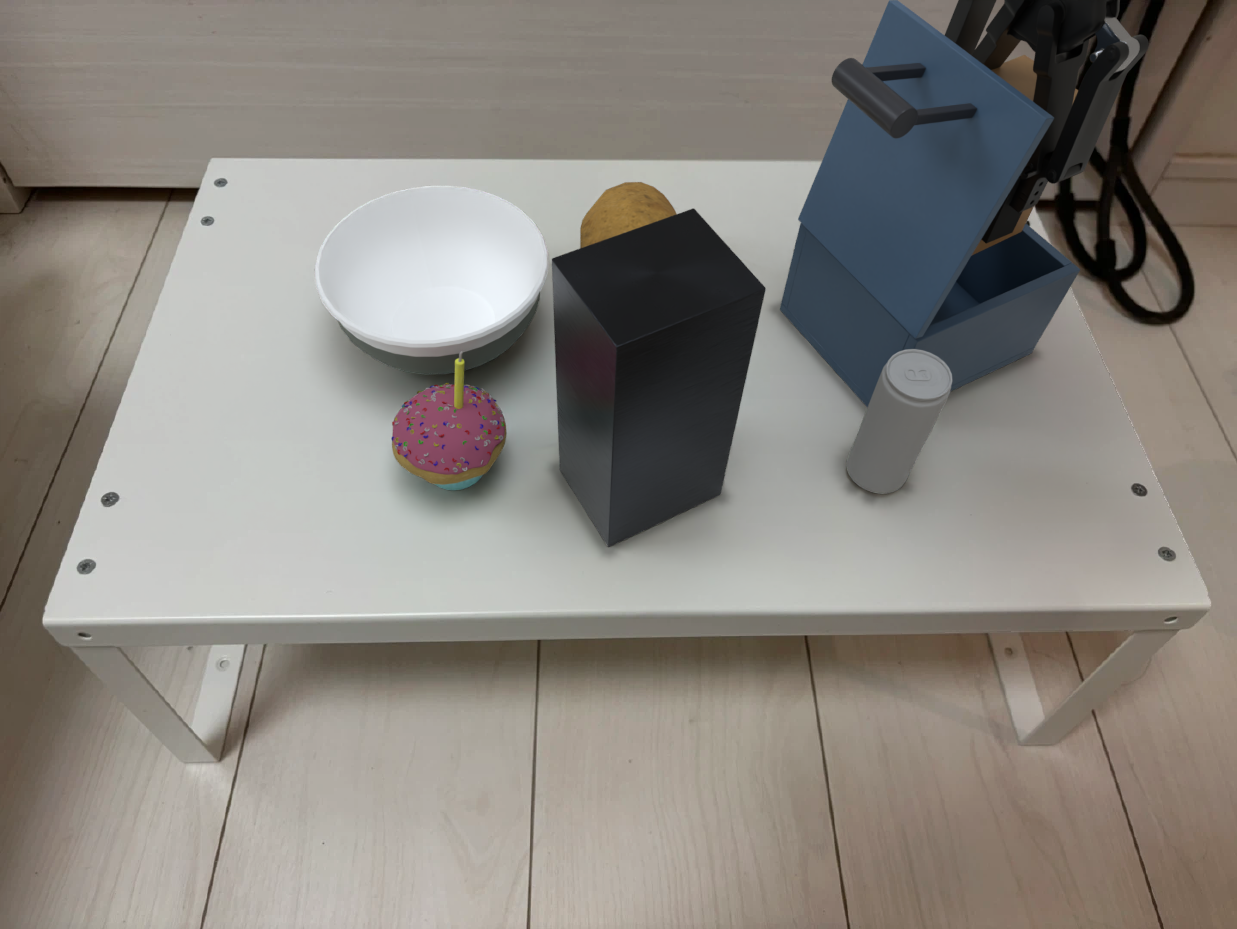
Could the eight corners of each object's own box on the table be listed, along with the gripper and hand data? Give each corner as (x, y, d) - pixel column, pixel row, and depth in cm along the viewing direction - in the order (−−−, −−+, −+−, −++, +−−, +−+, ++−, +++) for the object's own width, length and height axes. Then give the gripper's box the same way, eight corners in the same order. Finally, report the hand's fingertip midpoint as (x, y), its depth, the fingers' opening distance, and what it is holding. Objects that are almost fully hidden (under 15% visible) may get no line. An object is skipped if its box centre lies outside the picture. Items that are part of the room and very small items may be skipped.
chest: (922, 250, 89) (956, 164, 81) (1031, 353, 82) (1081, 269, 74) (779, 309, 84) (800, 223, 76) (882, 424, 77) (917, 342, 68)
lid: (897, -1, 63) (804, 3, 59) (1055, 117, 55) (960, 130, 51) (804, 218, 76) (723, 232, 72) (922, 336, 68) (839, 360, 64)
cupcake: (467, 407, 76) (450, 302, 66) (533, 471, 73) (525, 370, 63) (379, 463, 73) (347, 361, 63) (444, 533, 69) (421, 437, 59)
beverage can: (910, 498, 72) (961, 401, 63) (848, 497, 72) (890, 399, 62) (900, 448, 75) (947, 348, 65) (840, 447, 75) (879, 346, 65)
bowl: (355, 436, 74) (333, 368, 67) (320, 279, 84) (297, 206, 77) (578, 383, 78) (578, 313, 71) (519, 239, 88) (514, 166, 81)
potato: (572, 259, 73) (691, 251, 73) (574, 160, 82) (680, 153, 81) (584, 345, 81) (691, 338, 80) (584, 247, 89) (682, 240, 89)
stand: (721, 495, 72) (766, 287, 54) (608, 547, 69) (616, 347, 51) (668, 422, 76) (693, 207, 58) (559, 469, 73) (551, 258, 55)
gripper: (941, -164, 57) (852, 154, 76) (1186, -20, 48) (1015, 302, 67) (1031, -185, 59) (923, 128, 78) (1281, -51, 50) (1090, 269, 69)
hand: (966, 208), depth 72 cm, fingers closed on package, 6 cm apart
